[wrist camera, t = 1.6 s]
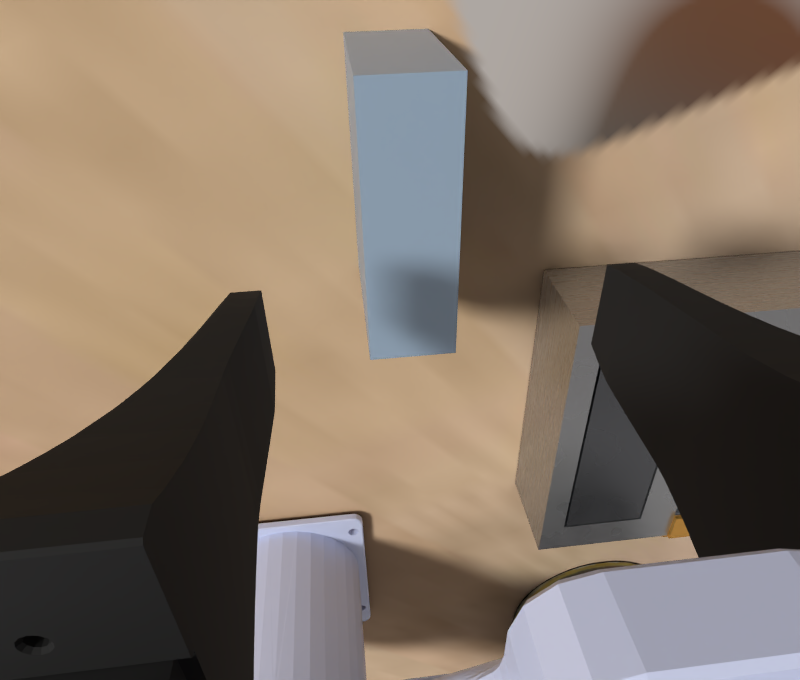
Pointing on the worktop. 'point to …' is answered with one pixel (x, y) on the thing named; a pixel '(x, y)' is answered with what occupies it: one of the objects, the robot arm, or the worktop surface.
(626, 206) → the worktop surface
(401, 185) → the block
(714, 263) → the rack
